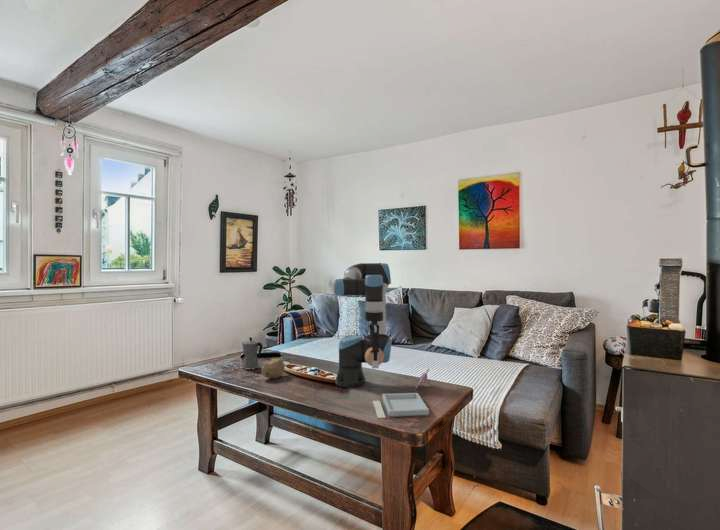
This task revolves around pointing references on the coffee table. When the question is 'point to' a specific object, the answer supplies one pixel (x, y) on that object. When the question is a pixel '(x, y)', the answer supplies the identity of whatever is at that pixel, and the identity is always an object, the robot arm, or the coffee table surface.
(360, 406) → the coffee table surface
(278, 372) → the low-poly potato
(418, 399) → the tray
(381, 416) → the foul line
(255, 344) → the coffeepot
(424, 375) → the lily
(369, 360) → the ball
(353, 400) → the coffee table surface
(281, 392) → the coffee table surface
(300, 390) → the coffee table surface
